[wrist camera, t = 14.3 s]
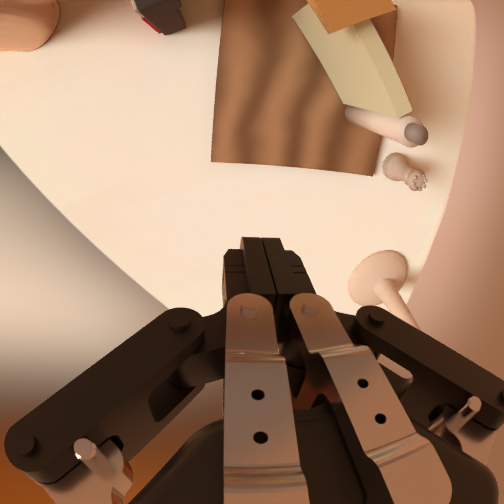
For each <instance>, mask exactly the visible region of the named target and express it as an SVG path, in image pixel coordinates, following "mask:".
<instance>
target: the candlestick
mask: <svg viewBox="0 0 504 504" xmlns="http://www.w3.org/2000/svg"><path fill="white" fill-rule="evenodd" d="M406 275H407V265H406V262H405V260H404V258H403V257H402V256H401V255H400V254H399V253H397V252H395V251H390V250H384V251H379V252H376V253H374V254H372V255H370V256H368V257H367V258H365V259H364V260H363V261H361V262H360V263H359V264H358V265H357V267H356V268H355V269H354V271H353V272H352V274H351V276H350V279H349V283H348V292H349V295H350V297H351V298H352V300H353V301H354V302H355V303H357V304H359V305H362V306H367V305H373V306H375V305H378V304H381V303H384V304H385V305H386V307H387V308H388V310H389V311H390V312H391V314H393V315H395V316H397V317H398V318H400V319H402V320H403V321H405V322H407V323H408V324H410V325H412V326H414V327H415V328H417V329H419V330H420V328H419V326H418V324H417V323H416V321H415V319H414V318H413V316H412V314H411V313H410V311H409V309H408V308H407V306H406V304H405V302H404V301H403V299H402V298H401V296H400V294H399V293H398V291H399V289H400V288H401V287H402V285H403V283H404V281H405V278H406ZM420 331H421V330H420Z"/></svg>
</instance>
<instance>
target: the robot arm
mask: <svg viewBox="0 0 504 504" xmlns="http://www.w3.org/2000/svg"><path fill="white" fill-rule="evenodd" d="M59 14H60V10H59V5H58V3H57V1H56V0H0V51H10V52H29V51H33V50H35V49H37V48H39V47H40V46H41V45H43V44H44V43H45V42H46V41H47V40H48V39H49V38H50V36H51V35H52V34H53V32H54V30H55V28H56V26H57V23H58V20H59ZM222 295H223V308H222V309H221V310H220V311H219V312H217V313H215V314H212V315H209V316H205V317H202V316H201V315H200V314H199V313H198V312H196V311H194V310H192V309H189V308H173V309H169V310H167V311H165V312H164V313H162V314H161V315H159V316H158V317H157V318H156V319H154V320H153V321H151V322H150V323H149V324H147V325H146V326H145V327H143V328H142V329H141V330H139V331H138V332H137V333H135V334H134V335H133V336H131V337H130V338H129V339H127V340H126V341H124V342H123V343H122V344H121V345H119V346H118V347H116V348H115V349H114V350H112V351H111V352H110V353H108V354H107V355H106V356H105V357H103V358H102V359H100V360H99V361H98V362H97V363H95V364H94V365H92V366H91V367H90V368H88V369H87V370H86V371H84V372H83V373H82V374H80V375H79V376H78V377H76V378H75V379H74V380H72V381H71V382H70V383H68V384H67V385H66V386H64V387H63V388H62V389H60V390H59V391H58V392H56V393H55V394H54V395H52V396H51V397H50V398H49V399H47V400H46V401H45V402H43V403H42V404H40V405H39V406H38V407H36V408H35V409H34V410H33V411H31V412H30V413H28V414H27V415H26V416H24V417H23V418H22V419H20V420H19V421H18V422H16V423H15V424H14V425H13V426H12V427H11V428H10V429H9V430H8V432H7V434H6V437H5V443H4V444H5V445H4V446H5V452H6V455H7V457H8V459H9V460H10V462H11V463H12V464H13V465H14V466H15V467H16V468H18V469H19V470H20V471H22V472H23V473H25V474H26V475H27V476H28V477H29V478H31V479H32V480H33V481H34V482H36V483H37V484H39V485H41V486H42V487H43V488H44V490H45V491H46V492H47V493H48V494H49V495H50V497H51V498H52V499H53V500H54V502H55V503H56V504H123V500H124V496H125V494H126V492H127V491H128V489H129V488H130V487H131V485H132V483H133V478H134V473H133V469H132V467H131V465H130V463H129V461H130V460H131V459H132V458H133V457H134V456H135V455H136V454H137V453H138V452H139V451H140V450H141V449H143V448H144V447H145V446H146V445H147V444H148V443H149V442H150V441H151V440H152V439H153V438H154V437H155V436H156V435H157V434H158V433H159V432H160V431H161V430H162V429H163V428H164V427H165V426H166V425H167V424H169V423H170V422H171V421H172V419H174V418H175V416H177V415H178V414H179V413H180V411H182V409H184V408H185V407H186V405H187V404H188V403H190V402H191V401H192V400H193V398H194V397H195V396H196V395H197V394H198V393H199V392H200V391H201V390H202V389H203V388H204V385H205V384H206V383H209V382H212V381H216V380H220V379H223V414H222V415H223V417H222V419H219V420H217V421H214V422H212V423H210V424H208V425H206V426H204V427H203V428H201V429H200V430H198V431H197V432H196V433H194V434H193V435H192V436H191V437H190V438H189V439H188V440H187V441H186V442H185V443H184V444H183V445H182V447H181V448H180V449H179V450H178V451H177V452H176V454H174V456H173V457H172V458H171V459H170V460H169V461H168V462H167V463H166V464H165V466H164V467H163V468H162V469H161V470H160V471H159V472H158V473H157V474H156V475H155V476H154V478H152V479H151V481H150V482H149V483H148V484H147V485H146V486H145V487H144V488H143V489H142V490H141V491H140V492H139V493H138V494H137V495H136V496H135V497H134V498H133V499H132V500H131V501H130V502H129V503H128V504H498V494H499V492H498V485H497V481H496V478H495V477H494V475H493V473H492V472H491V470H490V469H489V468H488V467H487V463H488V460H489V458H490V454H491V451H492V448H493V445H494V441H495V438H496V434H497V431H498V429H499V427H501V426H502V425H503V424H504V381H503V380H502V379H500V378H498V377H496V376H495V375H493V374H492V373H490V372H489V371H487V370H485V369H484V368H482V367H480V366H479V365H477V364H475V363H474V362H472V361H470V360H469V359H467V358H465V357H464V356H462V355H460V354H459V353H457V352H456V351H454V350H452V349H451V348H449V347H447V346H445V345H444V344H442V343H440V342H439V341H437V340H435V339H434V338H432V337H430V336H429V335H427V334H425V333H424V332H422V331H420V330H419V329H417V328H415V327H414V326H412V325H410V324H408V323H407V322H405V321H403V320H402V319H400V318H398V317H397V316H395V315H393V314H391V313H390V312H388V311H386V310H385V309H383V308H380V307H377V306H373V305H367V306H363V307H361V308H360V309H359V310H358V311H357V313H356V316H355V315H349V314H344V313H339V312H336V311H334V310H333V308H332V306H331V305H330V303H329V302H328V301H327V300H326V299H325V298H323V297H321V296H319V295H317V294H316V292H315V290H314V288H313V285H312V283H311V281H310V278H309V276H308V274H307V272H306V269H305V267H304V265H303V263H302V260H301V258H300V257H299V256H298V255H297V254H296V253H294V252H293V251H291V250H284V248H283V245H282V243H281V240H280V238H259V237H242V238H241V244H240V249H228V251H227V252H226V254H225V255H224V259H223V279H222ZM278 349H279V351H278ZM380 354H383V355H385V356H386V357H388V358H390V359H391V360H392V361H394V362H396V363H397V364H399V365H400V366H402V367H404V368H405V369H407V370H409V371H410V372H411V374H412V375H413V377H412V378H410V379H405V378H402V377H400V376H399V375H397V374H396V373H394V372H392V371H391V370H389V369H388V368H386V367H385V366H383V365H382V364H380V363H378V362H377V360H378V358H379V356H380Z"/></svg>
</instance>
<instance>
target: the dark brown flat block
mask: <svg viewBox="0 0 504 504" xmlns="http://www.w3.org/2000/svg"><path fill="white" fill-rule="evenodd" d="M131 3H132V6H133V8H134V10H135V12H137V13H138V14H139V15H140V16H141V17H142V19H143V20H144V21H145V22H146V23H147V24H148V25H150V26H151V27H152V28H153V29H154V30H156V31H157V32H158V33H159V34H160V33H163V34H164V35H168V34H170V33H173V32H176V31H178V30H181V29H184V28H186V25H185V22H184V19H183V17H182V14H181V11H180V9H179V8H180V7H181V6H182V4H181V1H180V0H131Z"/></svg>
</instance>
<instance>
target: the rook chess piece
mask: <svg viewBox="0 0 504 504" xmlns="http://www.w3.org/2000/svg"><path fill="white" fill-rule="evenodd" d="M382 167H383V173H384V175H385V176H386V177H387V178H389V179H391V180H394V181H400V180H402V181H404V182H405V184H407V185H408V186H409V188H410V189H411V190H413V191H417V190H419V191H421V190H422V187H423V188H425V187H426V185H425V182H427V179H426V178H425V177H426V176H425V174H424V172H423V171H422V170H419V169H415V168H411V167H410V166H409V165H408V162H407V160H406V159H405V158H404V157H403V156H401V155H400V154H398V153H392V154H390V155H388V156H387V157H386V159H385V160H384V162H383V166H382Z"/></svg>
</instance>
